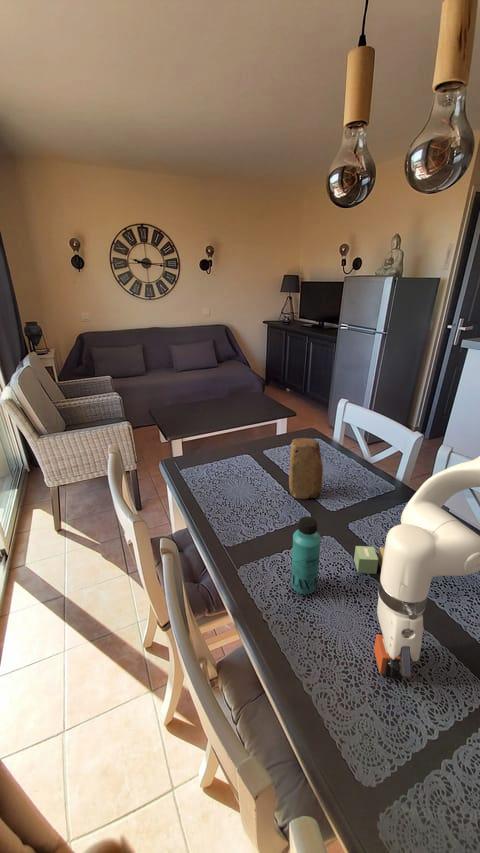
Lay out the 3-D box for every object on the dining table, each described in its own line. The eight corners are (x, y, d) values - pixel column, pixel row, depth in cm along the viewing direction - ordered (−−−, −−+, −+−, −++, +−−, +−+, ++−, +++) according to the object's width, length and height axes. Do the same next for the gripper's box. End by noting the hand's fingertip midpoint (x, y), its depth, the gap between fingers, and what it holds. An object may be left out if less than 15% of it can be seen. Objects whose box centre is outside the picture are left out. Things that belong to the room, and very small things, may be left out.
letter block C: (397, 651, 71) (401, 635, 69) (405, 675, 67) (409, 659, 65) (373, 650, 71) (376, 633, 69) (379, 674, 67) (382, 657, 65)
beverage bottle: (284, 587, 87) (286, 520, 79) (302, 573, 91) (306, 508, 83) (305, 604, 82) (309, 535, 74) (323, 589, 86) (329, 521, 78)
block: (288, 499, 120) (290, 445, 112) (288, 487, 127) (290, 435, 119) (321, 501, 119) (325, 447, 111) (320, 488, 125) (323, 436, 117)
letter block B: (371, 560, 94) (374, 546, 92) (376, 573, 90) (378, 559, 88) (353, 559, 95) (355, 545, 93) (357, 573, 90) (359, 558, 89)
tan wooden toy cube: (395, 561, 94) (398, 547, 92) (401, 575, 89) (404, 560, 88) (377, 560, 94) (379, 546, 92) (382, 574, 90) (384, 559, 88)
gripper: (446, 640, 53) (426, 713, 61) (408, 556, 69) (396, 622, 76) (394, 637, 54) (380, 709, 62) (368, 555, 70) (359, 621, 77)
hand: (389, 661), depth 69 cm, fingers closed on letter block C, 4 cm apart
